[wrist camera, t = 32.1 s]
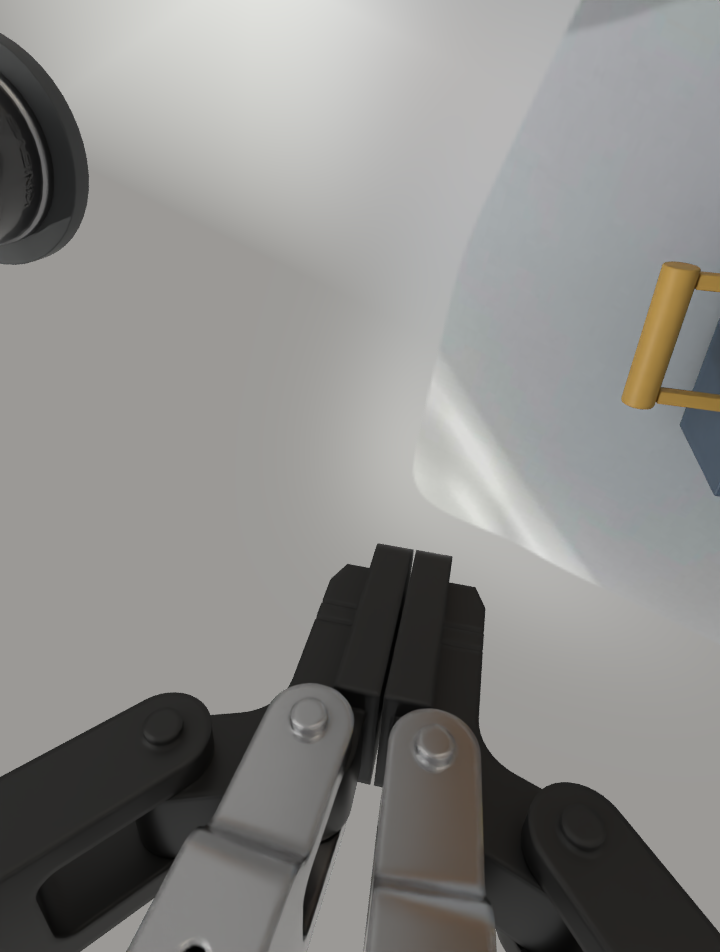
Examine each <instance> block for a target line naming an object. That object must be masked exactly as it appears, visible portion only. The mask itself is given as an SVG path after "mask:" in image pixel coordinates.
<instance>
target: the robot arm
mask: <svg viewBox="0 0 720 952" xmlns="http://www.w3.org/2000/svg"><path fill="white" fill-rule="evenodd" d="M53 189H54V175H53V166H52V159H51V155H50V151H49V147H48V144H47V141H46V138H45V136H44V133H43V130H42V128H41V126H40V124H39V122H38V120H37V118H36V116H35V114H34V113H33V111H32V109H31V108H30V106H29V105H28V103H27V102H26V100H25V99H24V98H23V96H22V95H21V94H20V92H19V91H18V90H17V89H16V88H15V87H14V85H13V84H12V83H11V82H10V81H9V80H8V79H7V78H6V77H5V76H3V75H2V74H1V73H0V245H4V244H9V243H12V242H15V241H19V240H22V239H24V238H26V237H28V236H29V235H31V234H32V233H34V232H35V231H36V230H37V229H38V228H39V227H40V225H41V224H42V223H43V221H44V220H45V218H46V216H47V214H48V211H49V209H50V206H51V202H52V197H53ZM412 561H413V550H412V549H407V548H401V547H395V546H390V545H384V544H377V546H376V549H375V552H374V556H373V559H372V562H371V565H370V568H366V567H361V566H355V565H350V564H347V565H346V566H345V567H344V568H342V569H341V570H340V571H339V572H338V573H337V574H336V575H335V576H334V577H333V578H332V579H331V580H330V582H329V585H328V587H327V590H326V593H325V595H324V598H323V603H321V606H320V608H319V611H318V614H317V618H316V619H315V622H314V624H313V627H312V629H311V632H310V635H309V637H308V640H307V642H306V645H305V648H304V650H303V653H302V656H301V658H300V661H299V663H298V666H297V669H296V671H295V674H294V677H293V679H292V681H291V683H290V685H289V687H288V688H287V689H286V690H284V691H283V692H281V693H280V694H278V695H277V696H276V697H275V698H274V699H273V700H272V702H271V703H270V704H269V705H267V706H265V707H262V708H260V709H257V710H254V711H249V712H242V713H232V714H219V715H210V713H209V711H208V709H207V707H206V706H205V705H204V704H203V703H202V702H201V701H200V700H198V699H197V698H195V697H193V696H191V695H188V694H184V693H164V694H159V695H156V696H153V697H150V698H148V699H146V700H144V701H142V702H140V703H138V704H137V705H135V706H133V707H131V708H129V709H127V710H125V711H123V712H121V713H120V714H118V715H116V716H114V717H112V718H110V719H108V720H106V721H105V722H103V723H101V724H99V725H97V726H95V727H93V728H91V729H90V730H88V731H86V732H84V733H82V734H80V735H78V736H76V737H75V738H73V739H71V740H69V741H67V742H65V743H63V744H61V745H60V746H58V747H56V748H54V749H52V750H50V751H48V752H46V753H45V754H43V755H41V756H39V757H37V758H35V759H33V760H31V761H29V762H28V763H26V764H24V765H22V766H20V767H18V768H16V769H14V770H13V771H11V772H9V773H7V774H5V775H3V776H1V777H0V952H80V951H82V950H83V949H85V948H86V947H87V946H89V945H90V944H91V943H93V942H94V941H96V940H97V939H98V938H100V937H101V936H103V935H104V934H105V933H107V932H108V931H109V930H111V929H112V928H114V927H115V926H116V925H117V924H119V923H120V922H122V921H123V920H125V919H126V918H127V917H129V916H130V915H131V914H133V913H134V912H135V911H137V910H138V909H140V908H141V907H142V906H144V905H145V904H146V903H148V902H149V901H150V900H152V899H153V898H154V900H153V902H152V904H151V905H150V907H149V909H148V911H147V913H146V915H145V917H144V919H143V921H142V923H141V925H140V927H139V928H138V930H137V932H136V934H135V936H134V938H133V940H132V942H131V944H130V946H129V948H128V949H127V951H126V952H307V950H308V946H309V943H310V940H311V936H312V933H313V930H314V927H315V924H316V920H317V917H318V914H319V911H320V907H321V904H322V901H323V898H324V895H325V891H326V888H327V885H328V882H329V879H330V875H331V872H332V869H333V866H334V863H335V859H336V856H337V853H338V850H339V847H340V843H341V840H342V837H343V834H344V830H345V826H346V821H347V819H348V817H349V814H350V811H351V807H352V803H353V798H354V794H355V790H356V785H357V782H361V783H365V784H370V783H371V778H372V774H373V769H374V764H375V759H376V754H377V750H378V755H377V764H376V773H375V782H374V785H375V786H379V787H382V795H381V803H380V811H379V820H378V826H377V834H376V842H375V851H374V860H373V869H372V877H371V886H370V895H369V904H368V913H367V922H366V931H365V940H364V949H363V952H496V931H497V934H498V937H499V940H500V942H501V944H502V946H503V947H504V949H505V951H506V952H720V933H719V932H718V930H717V929H716V928H715V927H714V926H713V924H712V923H711V922H710V921H709V920H708V918H707V917H706V916H705V915H704V914H703V912H702V911H701V910H700V909H699V908H698V906H697V905H696V904H695V903H694V901H693V900H692V899H691V898H690V897H689V895H688V894H687V893H686V892H685V891H684V889H683V888H682V887H681V886H680V885H679V883H678V882H677V881H676V880H675V878H674V877H673V876H672V875H671V874H670V872H669V871H668V870H667V869H666V867H665V866H664V865H663V864H662V863H661V861H660V860H659V859H658V858H657V857H656V855H655V854H654V853H653V852H652V850H651V849H650V848H649V847H648V846H647V844H646V843H645V842H644V841H643V840H642V838H641V837H640V836H639V835H638V834H637V832H636V831H635V830H634V829H633V827H632V826H631V825H630V824H629V823H628V821H627V820H626V819H625V818H624V817H623V815H622V814H621V813H620V812H619V811H618V809H617V808H616V807H615V806H614V805H613V804H612V803H611V802H610V801H609V800H607V799H606V798H605V797H604V796H602V795H600V794H599V793H598V792H596V791H594V790H592V789H590V788H588V787H586V786H583V785H580V784H575V783H568V782H561V783H555V784H551V785H549V786H546V787H545V788H543V789H541V788H539V787H537V786H535V785H534V784H532V783H530V782H528V781H526V780H525V779H523V778H521V777H519V776H517V775H516V774H514V773H512V772H511V771H509V770H508V769H506V768H505V767H504V766H503V765H501V764H500V763H499V762H498V761H497V760H496V759H495V758H494V757H493V756H492V754H491V753H490V752H489V750H488V749H487V747H486V745H485V743H484V742H483V739H482V736H481V734H480V729H479V704H480V687H481V671H482V654H483V653H482V650H483V637H484V634H483V632H484V621H485V620H484V619H485V607H484V605H483V602H482V600H481V598H480V596H479V594H478V592H477V590H476V588H475V587H471V586H465V585H460V584H454V583H449V578H450V571H451V564H452V556H447V555H441V554H436V553H430V552H425V551H419V550H416V554H415V558H414V563H413V567H412ZM411 567H412V572H411ZM410 576H411V577H410ZM378 745H379V747H378ZM495 928H496V930H495Z"/></svg>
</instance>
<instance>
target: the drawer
mask: <svg viewBox="0 0 720 952" xmlns="http://www.w3.org/2000/svg"><path fill="white" fill-rule="evenodd" d="M694 288H695V289H696V290H704V291H713V292H720V273H710V272H701V270H700V268H699V267H697V266H695V265H692V264H688V263H682V262H665V263H664V264H663V265H662V268H661V271H660V275H659V278H658V281H657V284H656V288H655V291H654V294H653V297H652V301H651V304H650V307H649V310H648V314H647V317H646V320H645V323H644V326H643V330H642V333H641V336H640V339H639V343H638V346H637V349H636V352H635V356H634V359H633V362H632V365H631V369H630V372H629V375H628V378H627V382H626V385H625V388H624V391H623V394H622V398H621V399H622V402H623V403H624V404H626V405H628V406H630V407H633V408H637V409H651V408H653V407H654V405H655V402H657V403H658V404H665V405H672V406H680V407H686V410H685V412H684V415H683V418H682V420H681V423H680V427H681V429H682V431H683V433H684V435H685V437H686V439H687V441H688V443H689V445H690V447H691V449H692V451H693V453H694V455H695V457H696V459H697V461H698V463H699V465H700V467H701V469H702V471H703V473H704V475H705V477H706V480H707V482H708V484H709V486H710V488H711V490H712V492H713V494H714V495H715V496H720V319H719V321H718V324H717V327H716V329H715V332H714V335H713V337H712V340H711V343H710V345H709V348H708V351H707V353H706V356H705V359H704V361H703V364H702V367H701V369H700V372H699V375H698V378H697V380H696V383H695V386H694V388H693V391H687V390H680V389H672V388H664V387H661V385H662V382H663V379H664V376H665V373H666V370H667V367H668V364H669V361H670V358H671V355H672V353H673V350H674V347H675V344H676V341H677V338H678V335H679V332H680V329H681V326H682V323H683V320H684V318H685V315H686V312H687V309H688V306H689V303H690V300H691V297H692V294H693V291H694Z"/></svg>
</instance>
